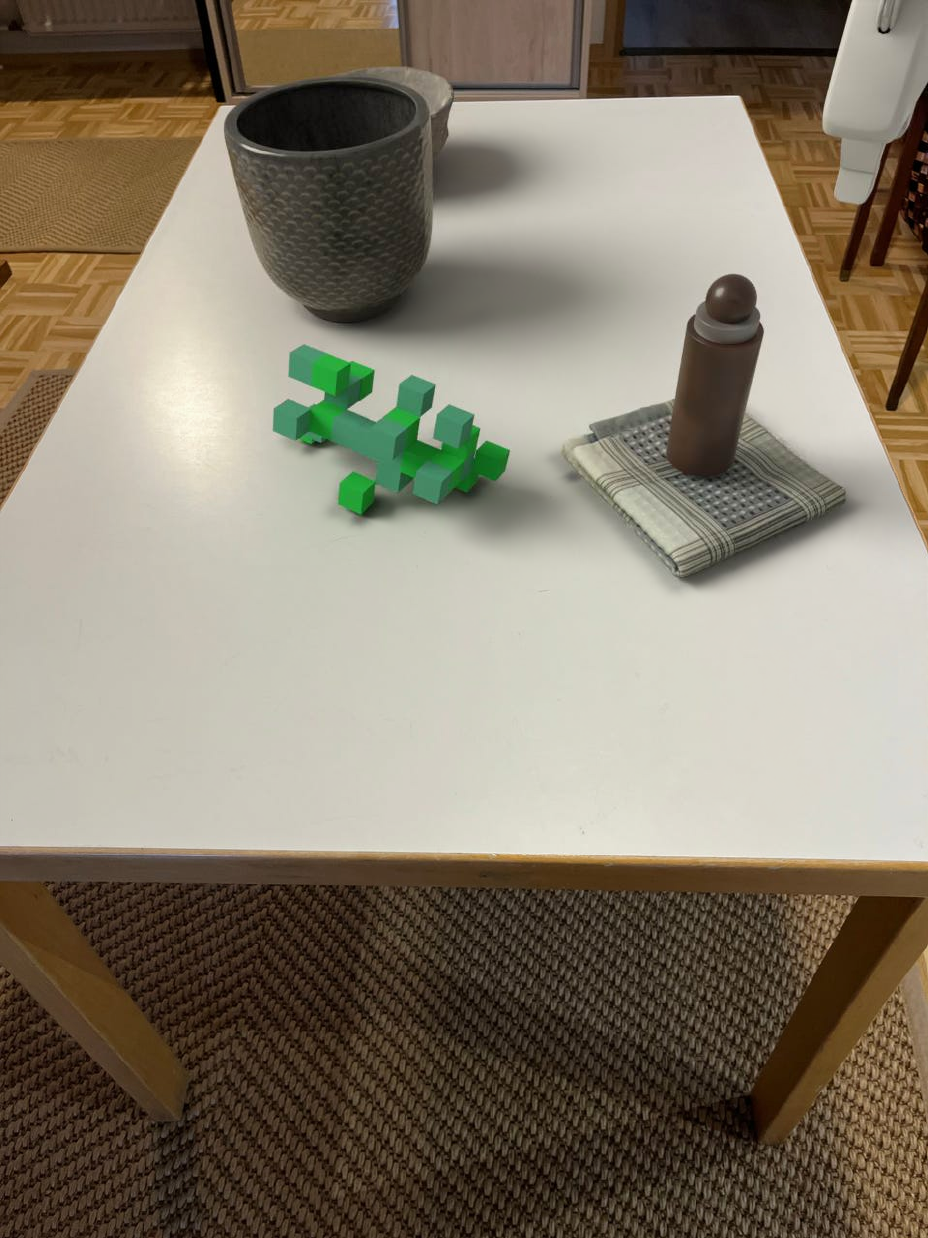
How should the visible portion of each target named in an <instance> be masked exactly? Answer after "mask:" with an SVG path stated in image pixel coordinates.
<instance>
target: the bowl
mask: <svg viewBox="0 0 928 1238" xmlns="http://www.w3.org/2000/svg"><path fill="white" fill-rule="evenodd" d="M332 76H360V77H372V78H378V79H384V80H389V81H393V82H397V83H399V84H402V85H405V86H407V87H409V88H411V89H413V90H415V91H416V92H417V93H419V94H420V95H421V96H422V97H423V98H424V99H425V100H426V102H427V104H428V107H429V111H430V117H431V139H432V156H433V160H434V159H435V158H436V157H437V156H438V155H439V154H440V152H441V151H442V150H443V148H444V147H445V144H446V142H447V140H448V137H449V135H450V133H449V127H448V123H449V118H450V113H451V109H452V107H453V103H454V101H455V91H454V87H453V85H451V84H450V83H449V82H448V81H447V79H445V77H443V76H441V75H438V74H436V73H433V72H430V71H428V70H426V69H420V68H415V67H410V66H377V67H367V68H357V69H355V70H348V71H344V72H340V73H335V74H333V75H330V76H329V77H332Z"/></svg>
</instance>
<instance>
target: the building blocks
mask: <svg viewBox="0 0 928 1238" xmlns="http://www.w3.org/2000/svg"><path fill="white" fill-rule="evenodd" d="M375 370H376V369H373V368H371V367H369V366H366V365H364V364H361V363H359V362H356V361H353V360H351V361H347V360H345V359H342V358H340V357H338V356H335V355H332V354H330V353H328V352H325V351H322V350H320V349H317V348H314V347H312V346H310V345H307V344H305V343H304V344H301V345H300V346H298V347H297V348H295V349H294V350H292V351H290V352H289V358H288V376H287V377H288V378H290V379H293V380H295V381H297V382H300V383H302V384H305V385H307V386H309V387H312V388H315V389H317V390H319V391H322V392H324V396H323V400H321V401H320V402H318V403H313V404H311V405H310V406H306V405H304V404H302V403H299V402H296V401H294V400H292V399H289V398H287V399H286V400H284V401H283V402H281V403H280V404H278V405H277V406H275V407H274V408H273V412H272V413H273V414H272V416H273V417H272V432H274V433H276V434H279V435H281V436H282V437H285V438H288V439H289V440H292V441H295V442H296V441H298V440H301V441H303V442H306V443H308V444H310V445H313V444H314V443H315V442H317V443H321V444H322V443H324V442H325V441H326V440H328V441H330V442H332V443H333V444H337V445H339V446H341V447H344V448H346V449H348V450H350V451H353V452H354V453H356V454H358V455H361V456H363V457H365V458H368V459H370V460H372V461H375V462H376V468H375V476H374V479H372V478H370V477H367V476H366V475H363V474H361V473H358V472H356V471H351V472H350V473H349V474H348V475H347V476H346V477H345V478H343V479H342V480H341V481H340V482H339V486H338V487H339V488H338V500H337V504H338V506H341V507H342V508H345V509H348V510H350V511H352V512H353V513H357V514H358V515H362V514H363V513H365V511H366V510H367V509H369V507H370V506H371V505H373V504H374V501H375V493H376V485H377V486H380V487H383V488H384V489H387V490H389V491H391V492H393V493H396V494H399V493H400V492H402V490H403V489H404V488H405V487H407V486H408V485H409V484H410V483H411V482H412V481H413V480H414V483H413V489H412V494H413V495H415V496H417V497H420V498H422V499H424V500H426V501H429V502H431V503H433V504H436V505H439V503H441V502H442V501H443V500H444V499H445V498H446V497H447V496H448V495H449V494H450V493H451V492H452V491H454V489H457V490H459V491H461V492H464V493H468V492H469V491H470V490H471V489H472V488H473V487H474V486H475V485H476V484H477V483H478V481H479V476H480V477H483V478H485V479H487V480H490V481H493V482H494V483H496V482H497V481H498V480H499V478H501V477H502V476H503V474H504V473H505V472H506V470H507V466H508V461H509V457H510V453H511V450H510V448H509V449H508V448H507V447H504V446H501V445H500V444H496V443H494V442H491V441H490V440H485V441H484V442H483V443H482V444H481V445H480V446H479V447H478V448H477V446H478V442H479V438H480V432H481V427H479V426H477V425H475V424H474V420H475V416H476V415H475V414H474V413H472V412H469V411H467V410H464V409H463V408H461V407H457V406H455V405H452V404H450V403H449V404H447V405H446V406H445V407H444V408H443V409H441V410H440V411H439V412H438V413H437V414H436V418H435V424H434V429H433V436H432V439H434V440H436V441H439V442H441V446H440V447H441V448H438V447H435V446H433V445H431V444H428V443H426V442H424V441H422V440H419V439H418V436H419V430H420V423H421V417H422V416H424V415H425V414H426V413H427V412H428V411H430V410H431V409H432V408H433V404H434V396H435V393H436V392H435V391H436V387H437V385H436V383H433V382H431V381H428V380H425V379H423V378H421V377H418V376H416V375H413V374H411V375H409V376H408V377H407V378H406V379H404V380H403V381H401V382H400V383H399V385H398V390H397V391H398V392H397V399H396V406H395V407H394V408H393V409H391V410H390V411H389V412H387V413H386V414H385V415H384V416H383V417H381V418H380V419H379V420H378V421H375V420H372V419H370V418H368V417H366V416H364V415H361V414H359V413H357V412H354V411H352V410H349V409H350V408H351V407H352V406H355V404H357V403H358V402H362V400H364V399H366V397H368V396H370V395H371V394H372V393H373V389H374V380H375V372H376V371H375Z"/></svg>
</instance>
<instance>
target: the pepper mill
mask: <svg viewBox="0 0 928 1238" xmlns="http://www.w3.org/2000/svg"><path fill="white" fill-rule="evenodd" d="M757 301H758V294H757V290H756V287H755V285H754V283H753V282H752V281H751V280H750V279H749V277H746V276H745V275H742V274H739V273H728V274H725V275H722V276H719V277H718V278H717V279H716V280H714V281H713V282H712V284H711V285H710V286H709V288H708V289H707V291H706V294H705V299H704V301H702V302H701V303H700V304H698V305H697V308H696V310H695V313H694V314H693V315H691V316H690V318H689V319H688V321H687V323H686V327H685V328H686V329H685V333H684V340H683V346H682V352H681V358H680V365H679V369H678V376H677V383H676V388H675V395H674V399H675V400H674V406H673V412H672V418H671V424H670V430H669V436H668V442H667V448H666V457H667V459H668V461H669V463H670V464H671V465H672V466H673V467H674V468H676V469H677V470H679V471H681V472H683V473H685V474H688V475H692V476H697V477H711V476H716V475H719V474H722V473H724V472H725V471H727V470H728V469H729V468H730V467H731V466H732V464H733V462H734V457H735V453H736V449H737V445H738V440H739V436H740V432H741V428H742V424H743V419H744V415H745V414H746V410H747V406H748V402H749V398H750V394H751V389H752V385H753V382H754V381H753V380H754V377H755V372H756V368H757V364H758V360H759V356H760V352H761V347H762V343H763V339H764V334H765V328H764V326H763V324H762V322H761V313H760V311H759V309H758V308H757Z"/></svg>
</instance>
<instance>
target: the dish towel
mask: <svg viewBox="0 0 928 1238" xmlns="http://www.w3.org/2000/svg"><path fill="white" fill-rule="evenodd" d="M674 400H675V398H673V399H670V400H667V401H664V402H662V403H656V404H651V405H648V406H643V407H640V408H638V409H636V410H632V411H629V412H626V413H623V414H620V415H617V416H614V417H610V418H605V419H601V420H598V421H594V422H592V423H589V424H588V428H589V429H590V431H592V432H591V433H586V434H582V435H580V436H578V437H574V438H569V439H568V440H566V441H565V442H563V444H562V449H561V450H560V453H561V455H562V456H563V457H564V458H565V459H566V461H568V463H569V464H570V465H571V466H572V467H573V469H574V470H575V471H576V472H577V474H578V475H579V476H580V477H581V478H583V479H584V480H585V482H586V483H588V484H589V485H590V486H591V487H592V489H594V490H595V491H596V493H598V494H599V496H601V497H602V498H603V499H604V501H606V502H607V504H608V505H610V506H611V508H613V509H614V510H615V511H616V513H618V514H619V515H620V516H621V517H622V519H623V520H625V522H626V523H627V524H628V525H629V527H630V528H631V530H633V531H634V533H636V534H637V535H638V537H639V538H640V539H641V540H642V541H643V542H644V543H645V545H647V546H648V547H649V548H650V550H652V552H654V554H655V555H657V556H658V558H659V559H660V560H661V561H662V562H663V563H664V564H665V565H666V567H668V568H669V570H670V571H671V573H672V575H673V576H674V577H675V578H683V577H687V576H690V575H691V574H694V573H697V572H699V571H701V570H703V569H707V568H708V567H710V566H713V565H715V564H717V563H719V562H721V561H723V560H725V559H728V558H731V557H733V556H734V555H737V554H739V553H741V552H744V551H746V550H748V549H751V548H753V547H755V546H757V545H759V544H761V543H763V542H765V541H766V542H767V540H770V539H772V538H774V537H776V536H778V535H781V534H783V533H786V532H788V531H791V530H792V529H795V528H797V527H799V526H801V525H803V524H806V523H808V522H810V521H812V520H813V521H814V520H815V519H817V518H819V517H821V516H824V515H825V514H828V513H829V512H831V511H833V510H834V509H837V508H839V507H841V506H843V505H845V504H846V503H847V495H846V489H845V488H844V487H843V486H842V485H839V484H837V483H836V482H834V481H833V480H831V479H829V478H828V477H826V476H825V475H823V474H822V473H820V472H819V471H818V470H816V469H815V468H813V467H812V466H811V465H810V464H808V463H807V462H805V461H804V460H803V459H802V458H801V457H799V456H797V455H796V454H794V452H793V451H791V450H790V449H788V448H787V447H786V446H785V445H784V444H783V443H782V442H780V440H778V439H777V438H776V437H775V436H774V435H773V434H772V433H771V432H770V431H768V430H767V429H766V428H765V427H764V426H762V425H761V424H760V423H759V422H757V421H756V420H754V419H752V418H751V417H750V416H749V415H748V414H747V413H745V415H744V419H743V424H742V428H741V432H740V436H739V440H738V445H737V449H736V453H735V457H734V462H733V464H732V466H731V467H730V468H729V469H728V470H727V471H725V472H724V473H722V474H719V475H716V476H711V477H697V476H692V475H688V474H685V473H683V472H681V471H679V470H677V469H676V468H674V467H673V466H672V465H671V464H670V463H669V461H668V459H667V457H666V448H667V442H668V436H669V430H670V424H671V418H672V412H673V406H674Z"/></svg>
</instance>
